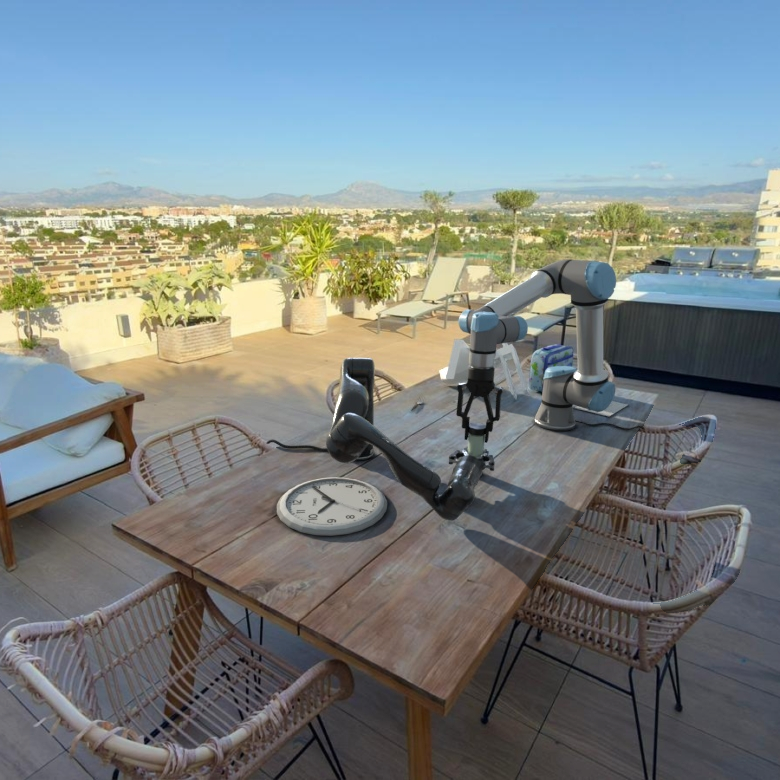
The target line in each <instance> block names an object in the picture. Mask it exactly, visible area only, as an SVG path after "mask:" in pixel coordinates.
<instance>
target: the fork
mask: <svg viewBox="0 0 780 780" xmlns="http://www.w3.org/2000/svg"><path fill="white" fill-rule="evenodd" d="M424 401H425V396H421V395H420V396H419V397H418V400H417V402H416V404H415V405H414V406H413V407H412V408H411V410H410V411H411V412H413V411H414V410H415V409H417V407H418V406H419V405H422V404H423V403H424Z"/></svg>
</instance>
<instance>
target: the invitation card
mask: <svg viewBox="0 0 780 780" xmlns="http://www.w3.org/2000/svg"><path fill="white" fill-rule="evenodd" d="M628 406H629V404H627V403H623V402H618V401H614V400H612V402H611V403H610V405H609V406H608V407H607V408H606V409H605V410H603V411H601V412H595V411H592V410H588V409H585V408H582V407H579V406H576V405H575V406H574V407H573V409H575V410H581V411H584V412H587V413H593V414H596V415H600V416H604V417H608V418H609V417H611V416H613V415H614V414H616V413H617V412H619V411H621V410H623V409H624V408H626V407H628Z"/></svg>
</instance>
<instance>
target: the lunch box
mask: <svg viewBox="0 0 780 780" xmlns="http://www.w3.org/2000/svg"><path fill="white" fill-rule="evenodd" d="M530 359H531V360H530V366H529V377H528V379H529V380H528V387H529V390H531V391H536V392H541V393H542V391H543V381H544V379H543V378H544V375H545V370H546V369H547V368H549V367H555V366H571V367H573V363H574V347H572V346H568V345H562V344H551V345H547V346H545V347H541V348H539V349H536V350H534V352H533V353H532V355H531V358H530Z"/></svg>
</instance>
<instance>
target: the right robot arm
mask: <svg viewBox="0 0 780 780" xmlns="http://www.w3.org/2000/svg"><path fill="white" fill-rule="evenodd" d="M616 286H617V275H616V272H615V270H614V268H613V266H611V264H609V263H607V262H606V261H599V260H587V259H586V260H584V259H570V258H567V259H561V260H558V261H555V262H552V263H550V264H547V265H545V266H543V267H541V268H539V269H538V270H536V271H534V272H533V273H532V274H531V275H530V277H529V278H528V279H526V280H524V281H523V282H521V283H520V284H518V285H516V286H514V287H513V288H511V289H510V290H508V291H506V292H504V293H503V294H501V295H499V296H498V297H496V298H494V299H493V300H491V301H489V302H487V303H486V304H485V305H483V306H481V307H479V308H477V309H464V311H462V312H461V313H460V314H459V317H458V326H459V328H460V330H461V331H462V332H463V333H466V334H469V335H470V336H469V337H470V338H469V339H470V341H469V347H470V352H469V364H470V366H469V369H468V380H467V382H466V383H459V384H457V386H456V389H457V392H458V393H457V404H456V415H455V416H457V417H460V418H461V428H462V429H464V438H463V439H464V441H468V437H469V433H468V425H469V424H470V418H471V417H470V416H468V415H469V413H470V409H471V407H472V404H473V401H474V399H475V398H478V397H479V398H483V402H484V405H485V409H486V415H487V419H486V421H485V425H486V431H485V440H484V444H485V443H486V444H487V443H488V441H489V437H490V436H489V434H490V433H492V432H493V430H494V422H499V421H500V419H501V406H502V394H503V391H504V387H502V386H501V387H499V386H497V385H496V383H495V382H494V381H495V370H496V369H495V368H494V367H493V366H494V365H495V357H496V350H497V345H502V343H507V344H508V343H516V342H519V341H522V340H524V339H525V338H526V336H527V334H528V331H529V330H528V329H529V326H528V322H527V321H526V319H525V318H524V317H523V316H520V315H515V314H517V313H519V312H520V311H522V310H523V309H525V308H527V307H529V306H530V305H532V304H533V303H535V302H537V301H538V300H540V299H542V298H549V297H550V296H552V295H558V294H559V295H567V296H570V304H571V305H572V306H573V307H574V308H575V324H576V325H575V326H576V356H577V357H576V358H577V359H576V361H577V367H576V366H572V367H571V366H555V367H549V368H547V369H546V370H545V375H544V378H543V379H544V381H543V391H542V392H541V393H542V394H541V402H540V405H539V407H538V410H537V411H536V413H535V416H534V424H535V425H536V426H537V427H539V428H542V429H544V430H549V431H556V432H567V431H572V430H574V429H575V428H576V423H577V424H582V425H585V426H589V427H596V426H597V427H598V426H602V425H604V426H611V427H614V428H617V429H619V430H623V431H632V430H636V429H639V428H640V429H641V430H646V429H645V427H644V426H642V425H636V426H632V427H623V426H619V425H617V424H614V423H610V422H598V423H588V422H585V421H581V420H578V419H576V418H575V417H576V416H575V413H574V407H573V406H575V407H576V406H579V407H582V408H585V409H588V410H592V411H595V412H601V411H603V410H605V409H606V408H607V407H608V406H609V405H610V403H611V402H612V401H614V397H615V394H616V384H615V383H614V382H613V381H610V380H609V373H608V371H607V370H605V369H604V306H605V305H606V304H607V303H608V302H609V299H610V298H611V297H612V296H613V294H614V293H615V289H616ZM466 389H467V390H468V391H469V393H470V394H469V397H468V400H467V401H466V402H467V403H466V406H465V408H464V411H463V402H464V393H465V390H466ZM493 390H494V394H495V409H494V411H495V413H494V411H493V407H492V402H491V398H490V397H491V396H490V394H491V393H492V392H493Z"/></svg>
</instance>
